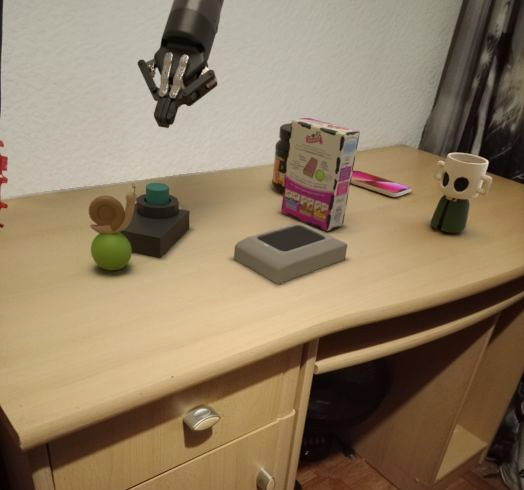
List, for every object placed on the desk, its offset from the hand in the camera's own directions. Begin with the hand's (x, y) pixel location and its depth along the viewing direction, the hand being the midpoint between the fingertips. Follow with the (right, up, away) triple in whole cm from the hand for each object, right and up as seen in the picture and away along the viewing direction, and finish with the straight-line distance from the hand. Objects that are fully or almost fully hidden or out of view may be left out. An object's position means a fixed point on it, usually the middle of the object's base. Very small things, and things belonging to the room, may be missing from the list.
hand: (162, 124), depth 81 cm
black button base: (-3, -16, +5) cm, 17 cm away
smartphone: (+39, +2, +37) cm, 54 cm away
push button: (-2, -10, +5) cm, 12 cm away
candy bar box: (+24, -10, +18) cm, 31 cm away
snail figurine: (-6, -23, -5) cm, 24 cm away
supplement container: (+22, -1, +30) cm, 37 cm away
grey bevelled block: (+19, -20, +3) cm, 28 cm away
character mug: (+49, -11, +20) cm, 55 cm away
